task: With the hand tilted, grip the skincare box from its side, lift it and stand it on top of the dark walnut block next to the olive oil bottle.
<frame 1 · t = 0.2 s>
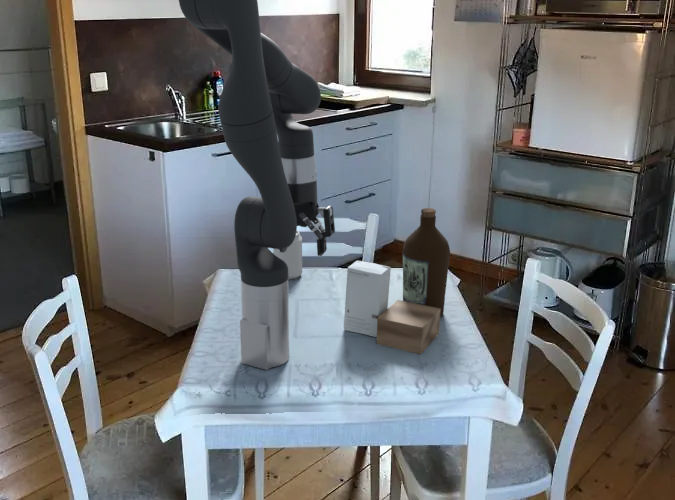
hand: (302, 253, 154), 18 cm above the table, tool pointing down, fingers open, 8 cm apart
skincare box: (366, 330, 162), on the table
olive oil: (422, 314, 171), on the table
walnut block: (408, 338, 158), on the table
can: (288, 276, 193), on the table
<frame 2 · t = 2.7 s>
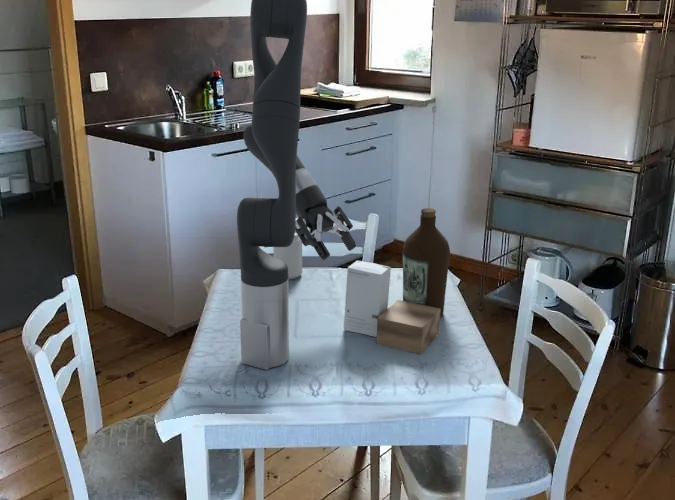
hand: (340, 253, 162), 16 cm above the table, tool tilted 45°, fingers open, 8 cm apart
nothing on the table moved.
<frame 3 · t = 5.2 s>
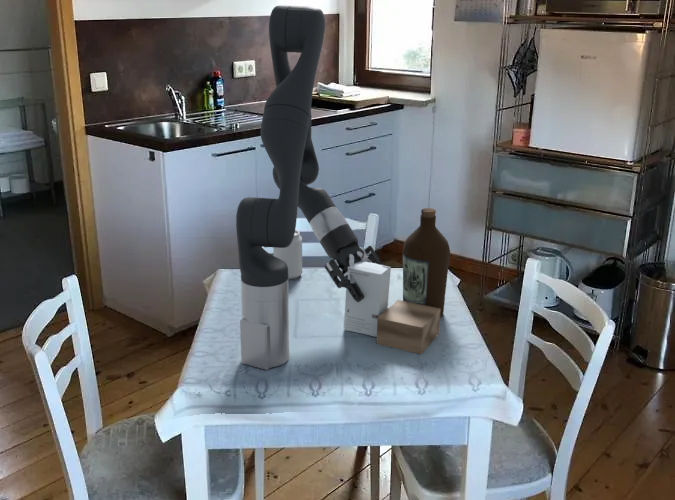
hand: (372, 295, 159), 9 cm above the table, tool tilted 45°, fingers closed on skincare box, 7 cm apart
skincare box: (366, 329, 162), on the table, touching gripper
everything else where it was.
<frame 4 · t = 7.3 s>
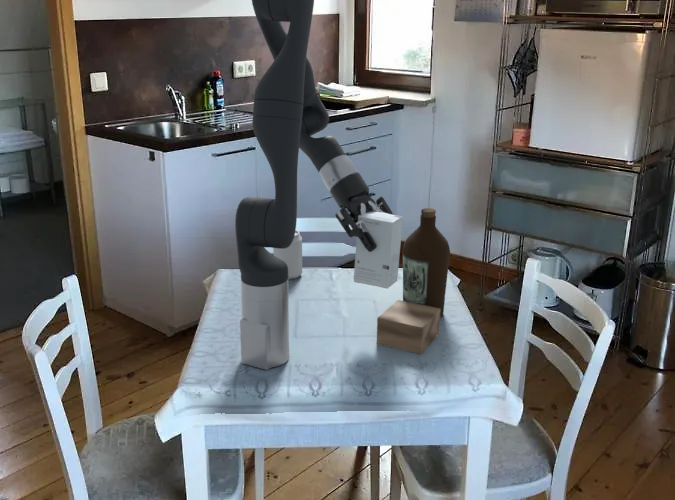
hand: (384, 245, 154), 20 cm above the table, tool tilted 45°, fingers closed on skincare box, 7 cm apart
skincare box: (376, 282, 157), point 11 cm above the table, touching gripper
everything else where it was.
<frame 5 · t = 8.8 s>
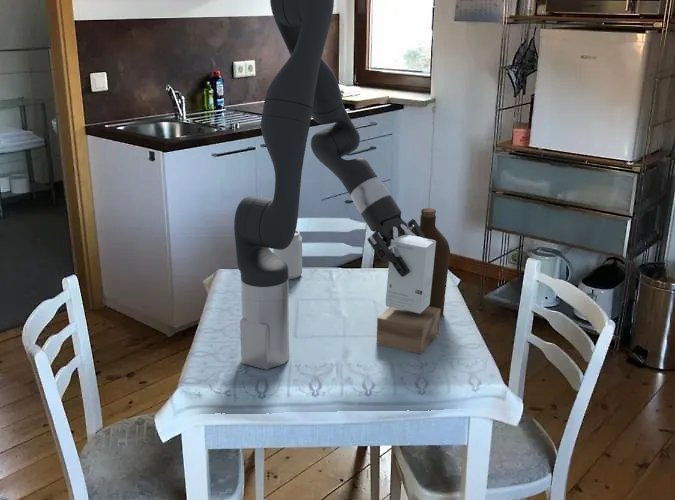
hand: (417, 269, 152), 16 cm above the table, tool tilted 45°, fingers closed on skincare box, 7 cm apart
skincare box: (409, 306, 156), point 7 cm above the table, touching gripper
everything else where it was.
when the fingers open (15 cm above the table, at t = 9.6 s): skincare box stays where it is, resting on walnut block.
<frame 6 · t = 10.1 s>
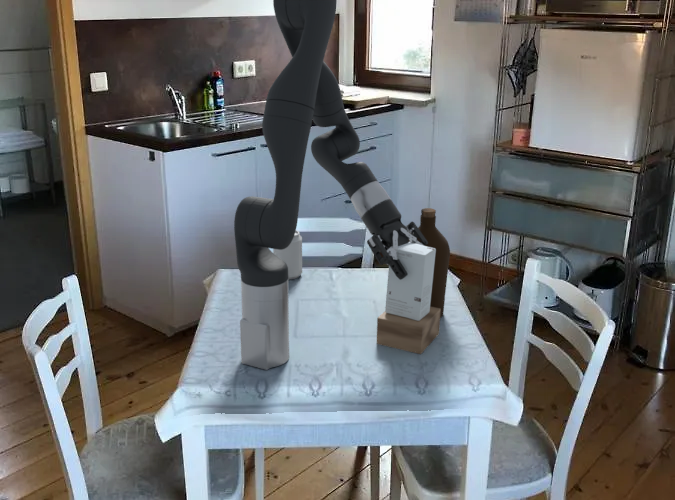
hand: (416, 272, 152), 16 cm above the table, tool tilted 45°, fingers open, 8 cm apart
skincare box: (408, 313, 156), point 6 cm above the table, touching walnut block
everything else where it was.
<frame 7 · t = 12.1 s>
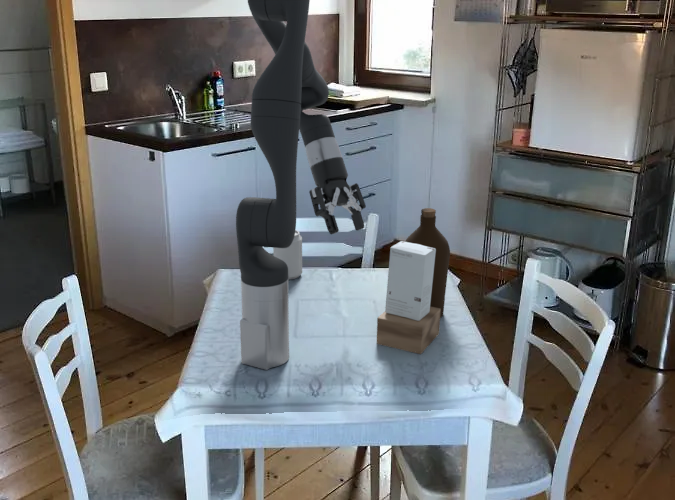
hand: (347, 231, 161), 21 cm above the table, tool tilted 30°, fingers open, 8 cm apart
nothing on the table moved.
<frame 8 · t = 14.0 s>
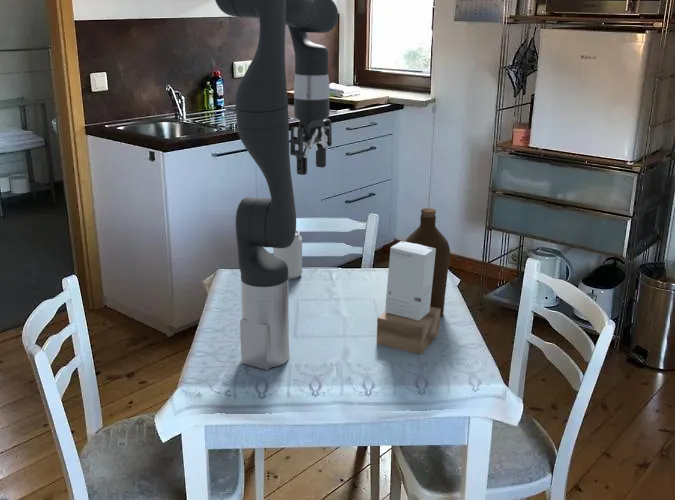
hand: (311, 170, 162), 33 cm above the table, tool pointing down, fingers open, 8 cm apart
nothing on the table moved.
at the end: skincare box inside the target area on the walnut block (0.2 cm from its centre), point 5.8 cm above the walnut block's base; skincare box tilted 0°; the gripper is holding nothing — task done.
